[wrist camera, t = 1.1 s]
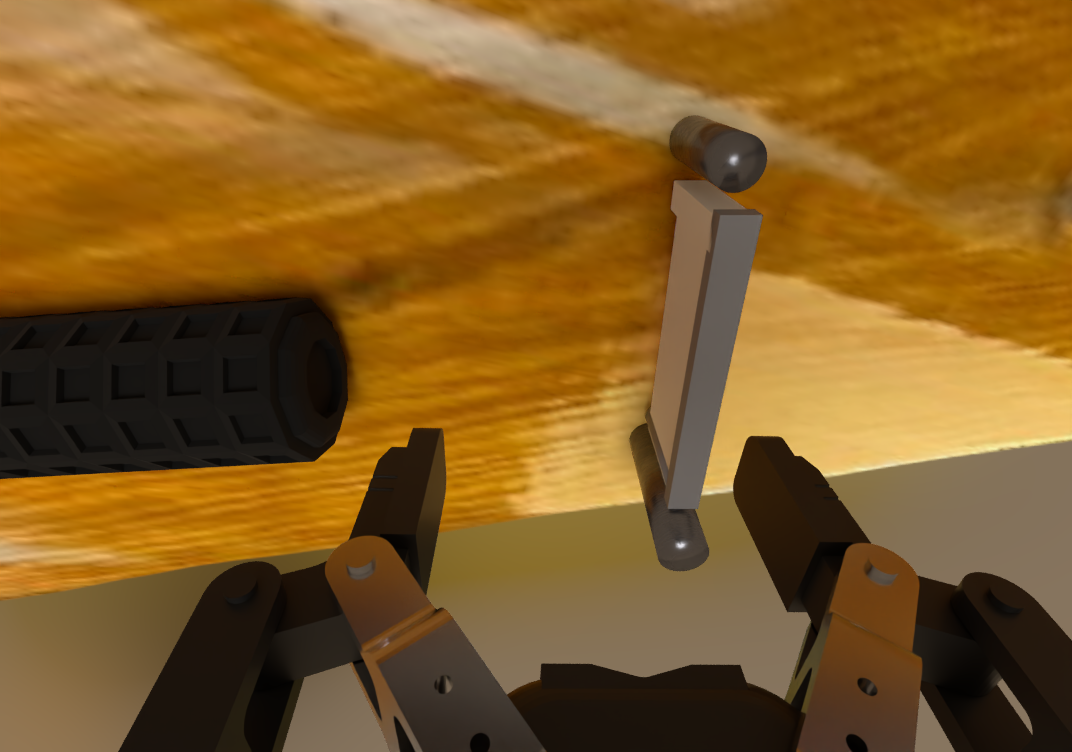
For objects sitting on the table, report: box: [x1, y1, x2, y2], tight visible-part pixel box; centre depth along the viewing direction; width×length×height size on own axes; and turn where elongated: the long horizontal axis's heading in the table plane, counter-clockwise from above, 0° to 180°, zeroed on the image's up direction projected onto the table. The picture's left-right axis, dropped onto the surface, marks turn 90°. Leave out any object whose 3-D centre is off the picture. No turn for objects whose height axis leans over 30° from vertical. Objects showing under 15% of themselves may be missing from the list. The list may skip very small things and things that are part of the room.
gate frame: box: [630, 116, 767, 571], centre depth 30 cm, size 3×24×11 cm, turn 0°
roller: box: [0, 298, 348, 479], centre depth 33 cm, size 38×10×10 cm, turn 94°
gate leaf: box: [645, 180, 763, 509], centre depth 30 cm, size 17×2×8 cm, turn 0°
